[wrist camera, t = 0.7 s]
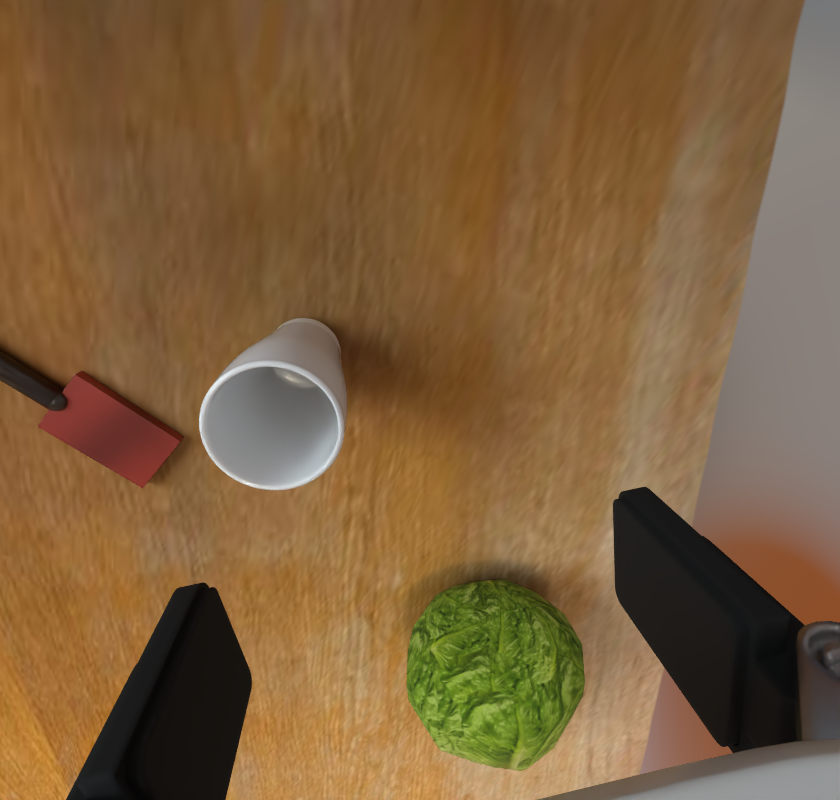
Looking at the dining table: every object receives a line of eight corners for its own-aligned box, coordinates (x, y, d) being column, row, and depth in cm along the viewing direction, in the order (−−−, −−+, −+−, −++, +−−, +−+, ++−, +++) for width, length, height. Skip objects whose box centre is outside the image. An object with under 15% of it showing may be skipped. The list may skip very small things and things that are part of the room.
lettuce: (408, 808, 47) (557, 881, 42) (374, 678, 35) (576, 756, 30) (454, 673, 58) (577, 717, 52) (440, 539, 46) (597, 578, 41)
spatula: (-129, 318, 32) (-153, 323, 30) (-93, 258, 31) (-115, 260, 29) (147, 482, 38) (138, 493, 37) (184, 436, 37) (177, 445, 36)
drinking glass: (364, 327, 36) (367, 391, 22) (332, 405, 38) (317, 509, 24) (276, 291, 34) (220, 336, 20) (247, 375, 36) (178, 467, 22)
